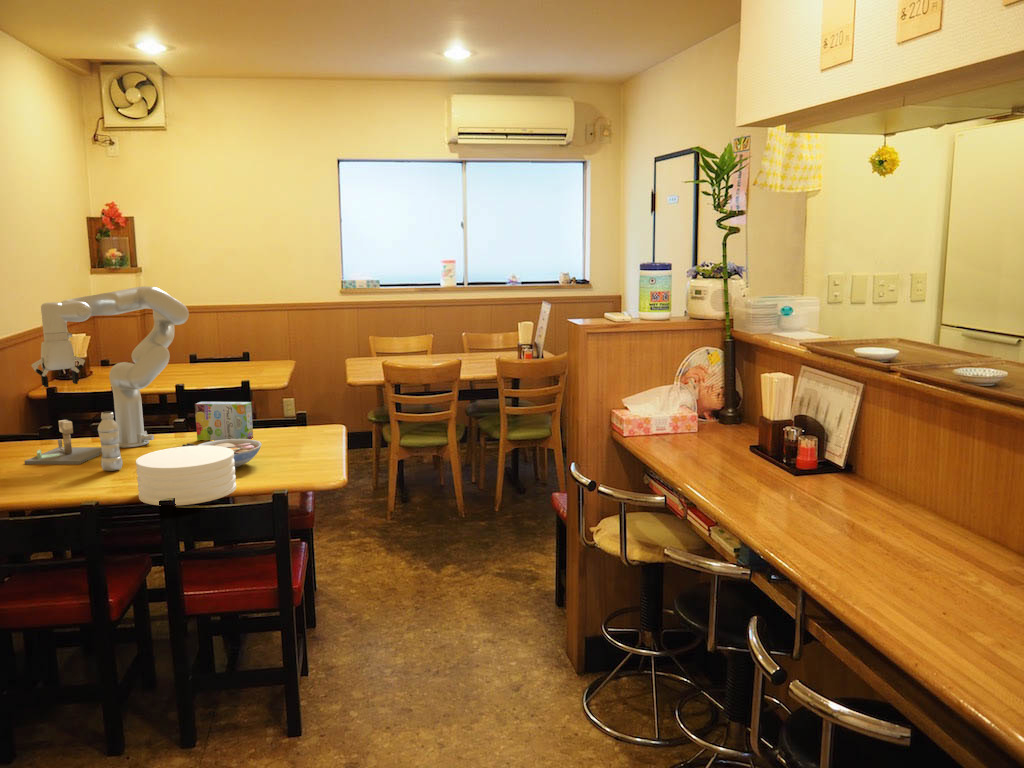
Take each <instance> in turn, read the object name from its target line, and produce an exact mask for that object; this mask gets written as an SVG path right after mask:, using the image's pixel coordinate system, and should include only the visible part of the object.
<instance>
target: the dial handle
mask: <svg viewBox="0 0 1024 768" xmlns="http://www.w3.org/2000/svg"><path fill="white" fill-rule="evenodd" d="M58 428H59V429H58V430H59V432H60V433H62V438H63V439H61V438H59V439H57V443H58V447H59V450H62V451H64V452H65V454H71V453H72V447H73V445H72V437H71V434H74V426H73V421H71V420H69V419H62V420H58ZM62 447H64V448H62Z"/></svg>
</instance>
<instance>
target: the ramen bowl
mask: <svg viewBox="0 0 1024 768" xmlns="http://www.w3.org/2000/svg"><path fill="white" fill-rule="evenodd" d="M181 445H182V446H181V447H183V446H198V445H210V446H222V447H227V448H230V449H232V450H233V451H234V461H235V465H234V467H235V469H237V467H238V468H239V467H241V466H242V465H245V464H247V463H249V462H250V461H252V460H253V458H254V457H256V455H257V454H258V452H259V451H260V449H261V447H262V442H261V441H259V440H256V439H253V440H251V439H225V440H216V441H204V442H203V443H199V444H193V443H189V442H188V443H186V444H181Z"/></svg>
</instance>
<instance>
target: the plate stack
mask: <svg viewBox="0 0 1024 768" xmlns="http://www.w3.org/2000/svg"><path fill="white" fill-rule="evenodd" d="M197 445H198V446H183V447H182V446H177V447H170V448H165V449H158V450H156V451H151V452H149V453H145V454H143V455H141V456H139V457H138V458H136V460H135V465H136V475H137V479H136V480H137V483H138V485H137V491H138V499H139V501H140V502H143V503H144V504H149V505H153V506H160V505H159V501H160V500H162V499H166V498H175V504H176V505H175V506H185V505H188V506H189V505H195V504H201V503H206V502H211V501H215V500H218V499H221V498H225V497H227V496H229V495H230V494H232V493H234V491H236V489H237V483H236V480H237V479H236V478H237V477H236V468H235V467H234V465H235V461H234V451H233V450H232V449H230V448H227V447H222V446H210V445H199V444H197Z"/></svg>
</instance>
